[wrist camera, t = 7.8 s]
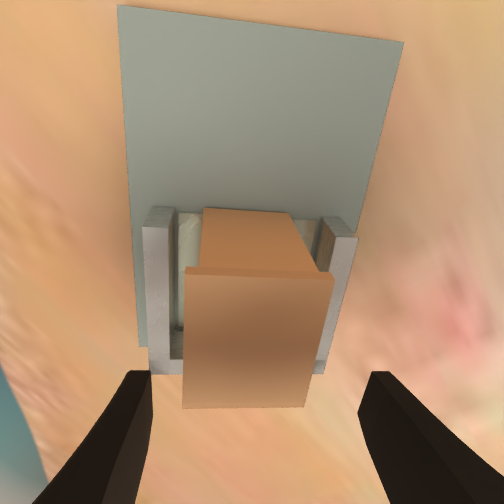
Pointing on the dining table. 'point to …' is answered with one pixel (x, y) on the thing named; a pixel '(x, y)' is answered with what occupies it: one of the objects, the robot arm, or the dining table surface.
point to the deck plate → (247, 120)
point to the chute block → (251, 313)
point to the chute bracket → (163, 265)
